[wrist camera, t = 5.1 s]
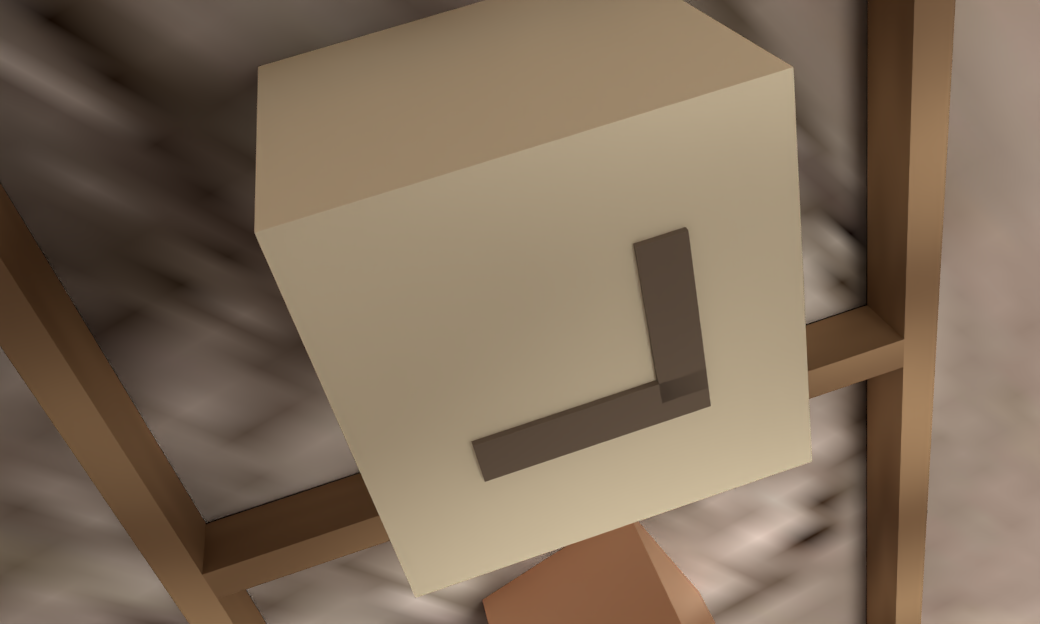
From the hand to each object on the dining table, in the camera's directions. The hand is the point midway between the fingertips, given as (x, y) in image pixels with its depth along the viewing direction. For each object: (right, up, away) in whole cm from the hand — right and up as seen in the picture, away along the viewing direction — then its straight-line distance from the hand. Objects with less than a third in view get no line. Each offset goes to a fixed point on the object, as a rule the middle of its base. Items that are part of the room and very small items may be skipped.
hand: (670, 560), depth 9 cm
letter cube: (-2, +5, +8) cm, 10 cm away
